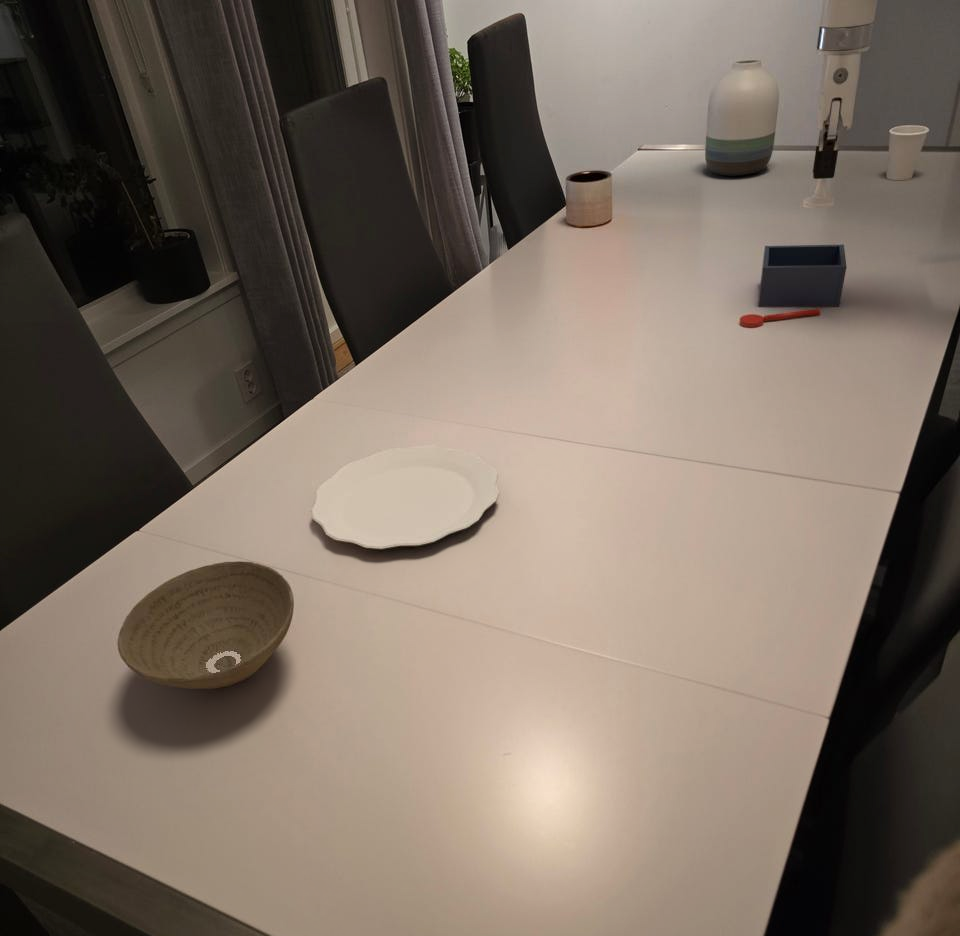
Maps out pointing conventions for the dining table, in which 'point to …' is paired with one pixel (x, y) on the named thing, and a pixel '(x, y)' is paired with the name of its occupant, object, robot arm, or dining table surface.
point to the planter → (589, 198)
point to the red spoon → (774, 317)
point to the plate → (405, 497)
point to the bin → (802, 275)
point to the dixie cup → (904, 151)
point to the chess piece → (819, 197)
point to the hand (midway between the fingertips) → (823, 174)
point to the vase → (742, 120)
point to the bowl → (208, 625)
